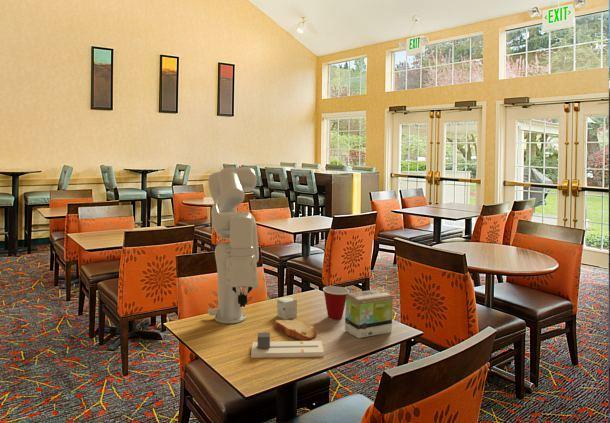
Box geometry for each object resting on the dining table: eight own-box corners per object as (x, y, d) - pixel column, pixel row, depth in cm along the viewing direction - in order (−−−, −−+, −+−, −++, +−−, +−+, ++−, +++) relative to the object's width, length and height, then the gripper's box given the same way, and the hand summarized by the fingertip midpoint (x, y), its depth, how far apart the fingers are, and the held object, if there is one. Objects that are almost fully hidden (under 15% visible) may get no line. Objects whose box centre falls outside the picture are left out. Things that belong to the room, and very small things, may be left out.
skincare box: (276, 316, 207) (276, 298, 206) (288, 313, 211) (288, 296, 210) (285, 320, 202) (285, 302, 202) (297, 317, 206) (297, 299, 205)
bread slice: (275, 323, 200) (275, 314, 199) (320, 325, 197) (320, 316, 197) (265, 340, 182) (265, 330, 182) (315, 342, 180) (315, 332, 179)
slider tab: (257, 348, 168) (257, 337, 168) (258, 343, 172) (258, 332, 172) (269, 348, 168) (269, 336, 168) (269, 343, 172) (269, 332, 172)
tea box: (359, 339, 181) (359, 299, 180) (344, 330, 190) (344, 293, 188) (392, 332, 188) (393, 294, 186) (376, 324, 197) (377, 287, 195)
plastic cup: (350, 322, 200) (350, 292, 198) (322, 321, 200) (322, 292, 199) (348, 313, 211) (348, 285, 209) (322, 313, 211) (322, 285, 209)
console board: (251, 357, 165) (251, 352, 165) (253, 345, 175) (253, 341, 175) (323, 356, 166) (323, 351, 166) (321, 344, 176) (321, 340, 176)
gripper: (217, 254, 162) (218, 309, 164) (263, 253, 163) (264, 308, 165) (220, 250, 170) (221, 303, 172) (264, 249, 170) (265, 302, 172)
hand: (242, 305), depth 168 cm, fingers closed
